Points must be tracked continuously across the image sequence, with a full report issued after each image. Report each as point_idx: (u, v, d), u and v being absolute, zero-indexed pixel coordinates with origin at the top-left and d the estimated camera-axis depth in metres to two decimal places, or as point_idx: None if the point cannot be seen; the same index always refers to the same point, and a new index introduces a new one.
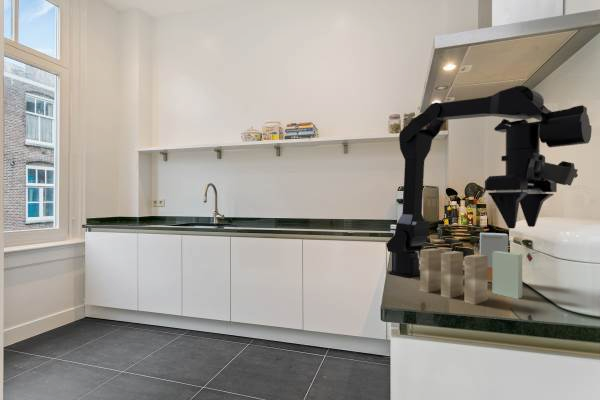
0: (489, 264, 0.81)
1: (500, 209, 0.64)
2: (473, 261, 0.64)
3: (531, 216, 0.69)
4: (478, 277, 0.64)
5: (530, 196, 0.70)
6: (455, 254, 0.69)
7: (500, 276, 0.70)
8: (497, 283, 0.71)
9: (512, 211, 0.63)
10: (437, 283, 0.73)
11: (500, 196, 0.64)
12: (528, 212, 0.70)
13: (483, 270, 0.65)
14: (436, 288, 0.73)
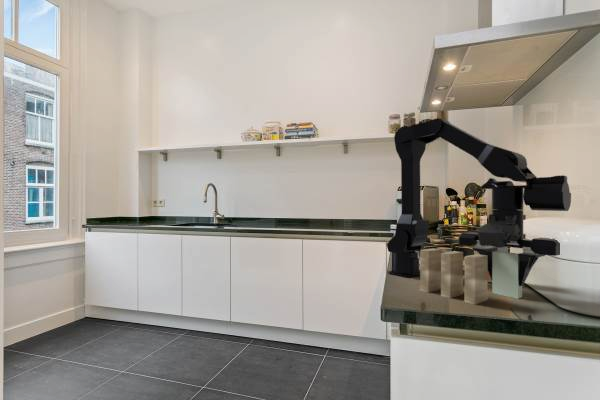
0: None
1: None
2: (473, 261, 0.64)
3: None
4: (478, 277, 0.64)
5: None
6: (455, 254, 0.69)
7: (500, 276, 0.70)
8: (497, 282, 0.71)
9: None
10: (437, 283, 0.73)
11: None
12: None
13: (483, 270, 0.65)
14: (436, 288, 0.73)
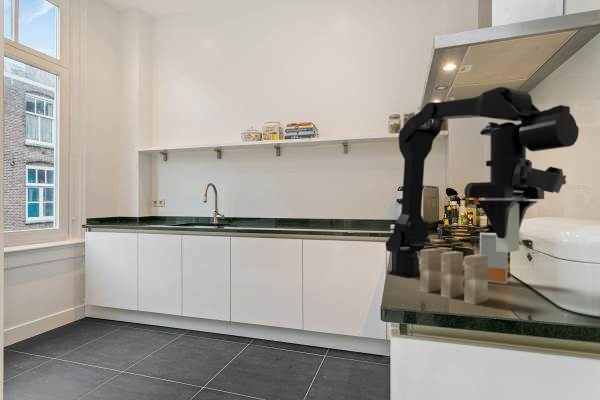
0: (489, 264, 0.81)
1: (489, 218, 0.61)
2: (473, 261, 0.64)
3: None
4: (478, 277, 0.64)
5: None
6: (455, 254, 0.69)
7: (511, 231, 0.61)
8: (510, 238, 0.61)
9: (502, 220, 0.60)
10: (437, 283, 0.73)
11: (489, 204, 0.61)
12: None
13: (483, 270, 0.65)
14: (436, 288, 0.73)
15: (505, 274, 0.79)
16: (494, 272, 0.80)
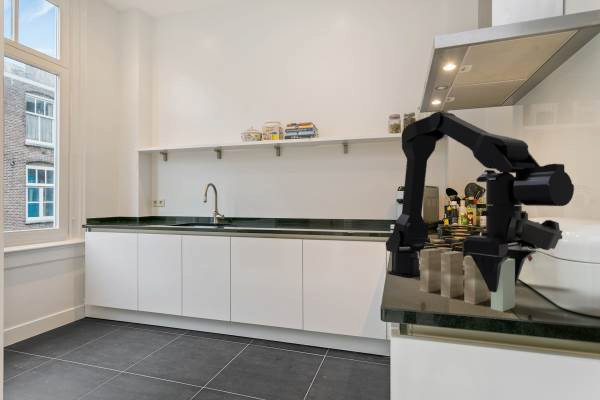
0: None
1: (481, 271, 0.60)
2: (473, 261, 0.64)
3: None
4: (478, 277, 0.64)
5: (511, 252, 0.64)
6: (455, 254, 0.69)
7: (506, 289, 0.60)
8: (505, 297, 0.60)
9: (493, 274, 0.58)
10: (437, 283, 0.73)
11: (481, 257, 0.59)
12: None
13: None
14: (436, 288, 0.73)
15: None
16: None
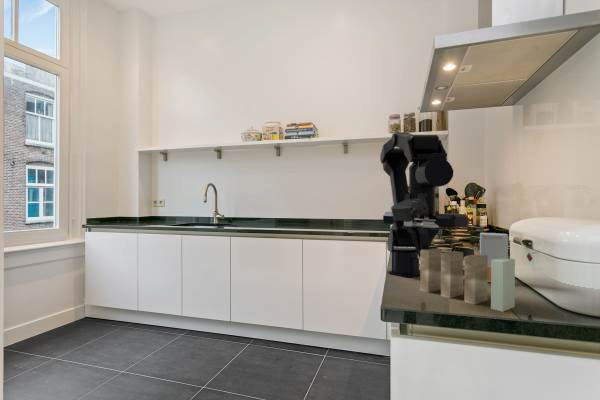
0: (489, 264, 0.81)
1: None
2: (473, 261, 0.64)
3: None
4: (478, 277, 0.64)
5: None
6: (455, 254, 0.69)
7: (506, 289, 0.60)
8: (505, 297, 0.60)
9: None
10: (437, 283, 0.73)
11: None
12: None
13: (483, 270, 0.65)
14: (436, 288, 0.73)
15: None
16: None
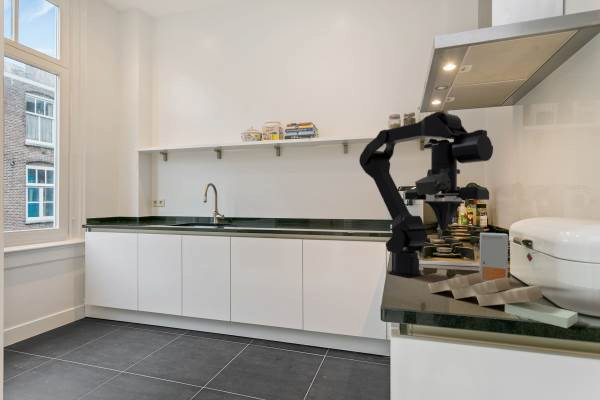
0: (489, 264, 0.81)
1: None
2: (525, 299, 0.56)
3: None
4: None
5: None
6: None
7: None
8: None
9: None
10: None
11: None
12: None
13: None
14: None
15: (505, 274, 0.79)
16: (494, 272, 0.80)
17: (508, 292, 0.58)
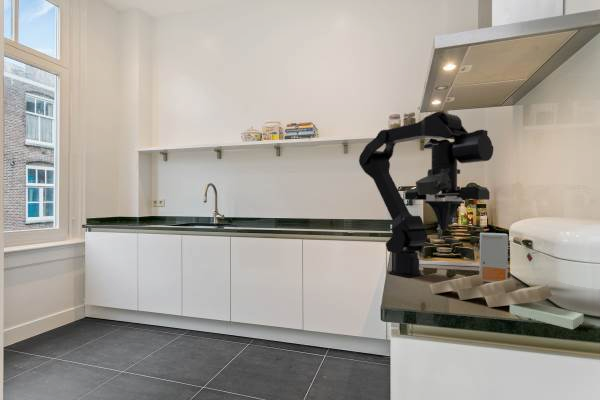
0: (489, 264, 0.81)
1: None
2: (536, 299, 0.55)
3: None
4: None
5: None
6: (509, 291, 0.61)
7: None
8: None
9: None
10: None
11: None
12: None
13: None
14: None
15: (505, 274, 0.79)
16: (494, 272, 0.80)
17: (518, 292, 0.58)
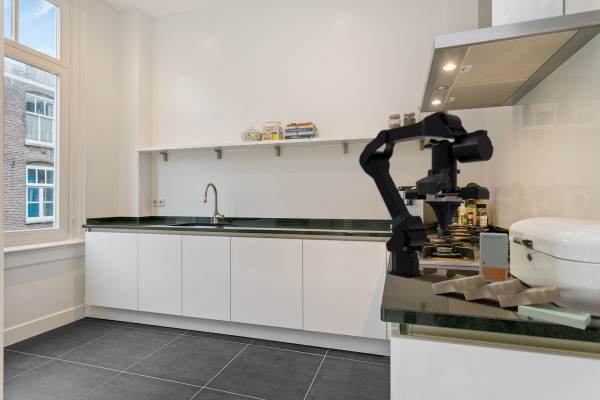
0: (489, 264, 0.81)
1: None
2: (554, 299, 0.56)
3: None
4: None
5: None
6: None
7: None
8: None
9: None
10: None
11: None
12: None
13: None
14: None
15: (505, 274, 0.79)
16: (494, 272, 0.80)
17: (535, 292, 0.58)
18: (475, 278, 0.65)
